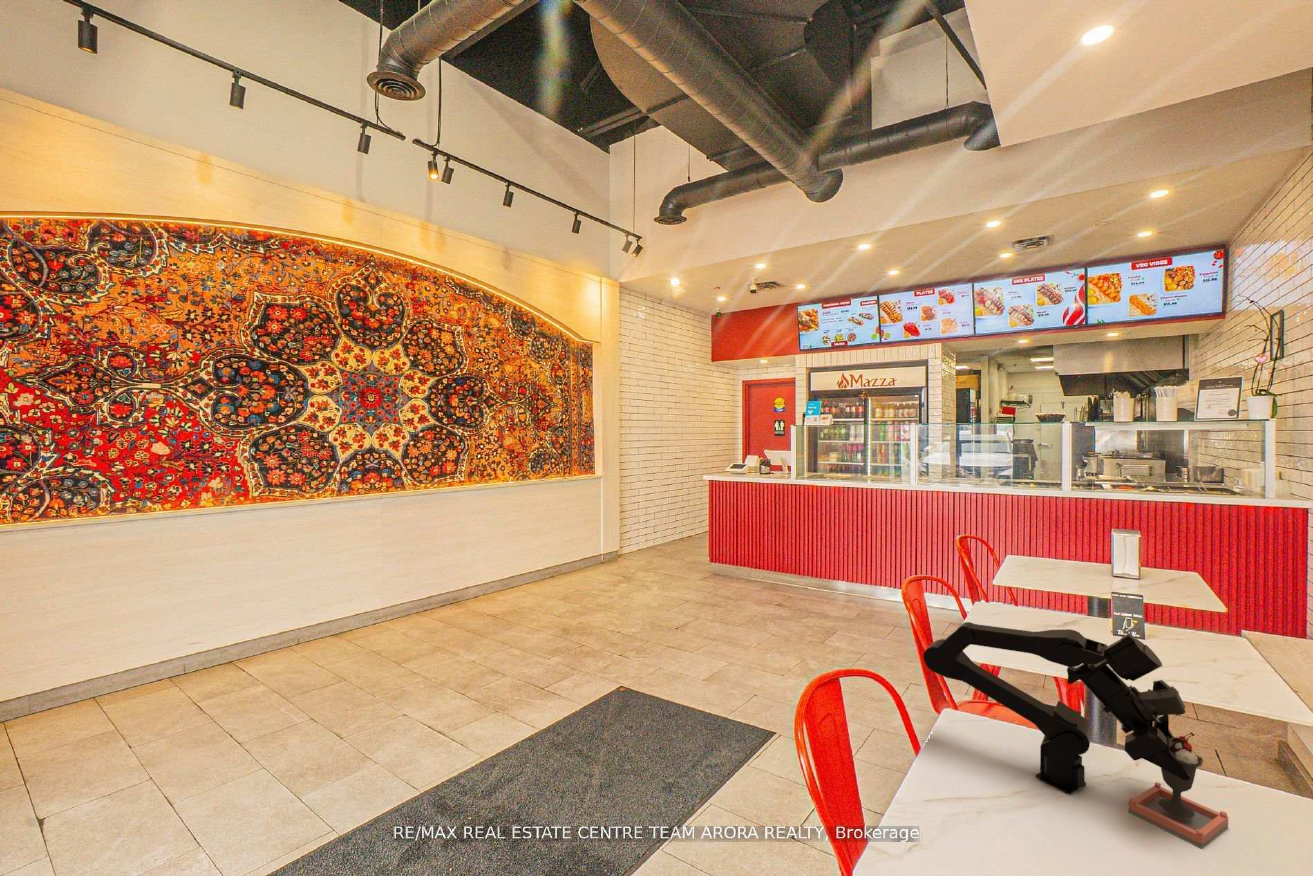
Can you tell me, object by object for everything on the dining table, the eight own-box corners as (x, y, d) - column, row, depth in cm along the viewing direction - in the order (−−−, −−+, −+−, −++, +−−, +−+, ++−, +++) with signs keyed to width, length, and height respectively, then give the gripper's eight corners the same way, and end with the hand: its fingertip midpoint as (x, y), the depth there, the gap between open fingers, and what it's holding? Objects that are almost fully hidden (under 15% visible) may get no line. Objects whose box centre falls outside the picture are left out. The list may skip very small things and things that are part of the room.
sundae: (1206, 826, 103) (1209, 741, 102) (1157, 812, 106) (1159, 731, 105) (1195, 804, 108) (1198, 724, 108) (1149, 793, 112) (1151, 715, 111)
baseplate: (1128, 812, 109) (1128, 798, 109) (1155, 794, 114) (1155, 781, 114) (1202, 848, 100) (1202, 833, 100) (1228, 827, 105) (1228, 813, 105)
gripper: (1151, 689, 102) (1238, 776, 95) (1152, 655, 116) (1228, 730, 109) (1093, 718, 107) (1171, 803, 100) (1101, 683, 121) (1170, 755, 114)
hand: (1187, 771), depth 106 cm, fingers closed on sundae, 6 cm apart
